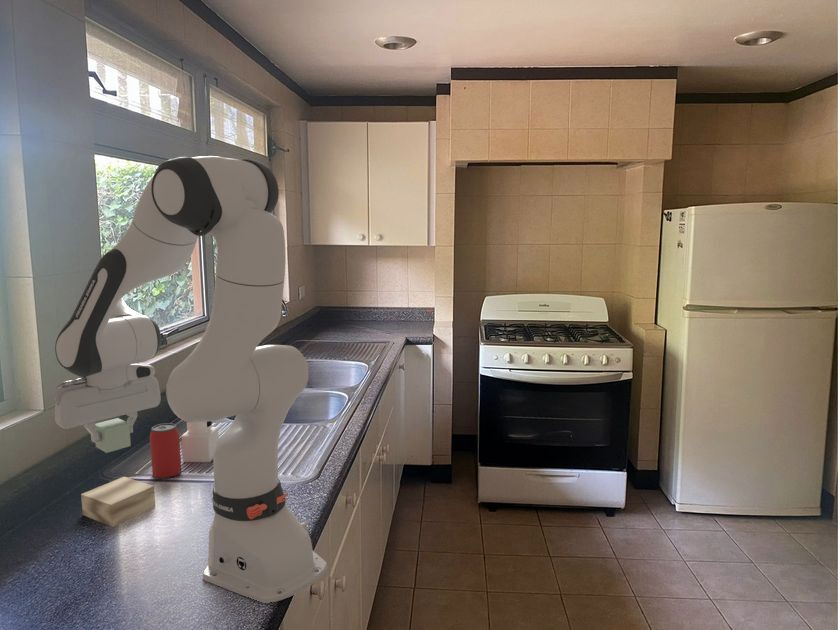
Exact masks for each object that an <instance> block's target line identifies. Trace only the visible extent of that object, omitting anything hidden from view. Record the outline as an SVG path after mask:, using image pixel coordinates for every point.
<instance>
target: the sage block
mask: <svg viewBox="0 0 840 630" xmlns="http://www.w3.org/2000/svg"><path fill="white" fill-rule="evenodd" d="M93 429H94V430H95V431H98V432H100V433H102V437H101V438H102V441H99V442H95V448H97V449H98V450H101V451H103V452H104V453H105V454H107V453H111V452H115V451H118V450H121V449H124V448H125V449H126V448H128V447H129V448H130V447H131V446H132V445H131V433H130V429H129V423H128V422H127V421H125V420H123V419H121V418H119V417H115V418H113V419H107V420H105V421H101V422H100V421H99V422H97V423H96V422H95V427H93Z"/></svg>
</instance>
